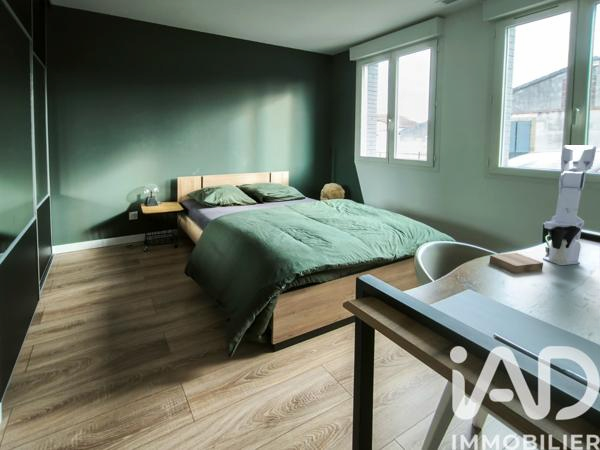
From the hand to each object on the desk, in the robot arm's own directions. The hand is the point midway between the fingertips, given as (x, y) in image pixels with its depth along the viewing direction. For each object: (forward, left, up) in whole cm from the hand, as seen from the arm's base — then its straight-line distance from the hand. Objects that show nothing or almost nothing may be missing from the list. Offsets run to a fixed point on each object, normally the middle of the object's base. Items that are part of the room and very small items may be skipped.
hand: (560, 247), depth 123 cm
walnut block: (+5, -12, -10) cm, 17 cm away
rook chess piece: (0, 0, -5) cm, 5 cm away
